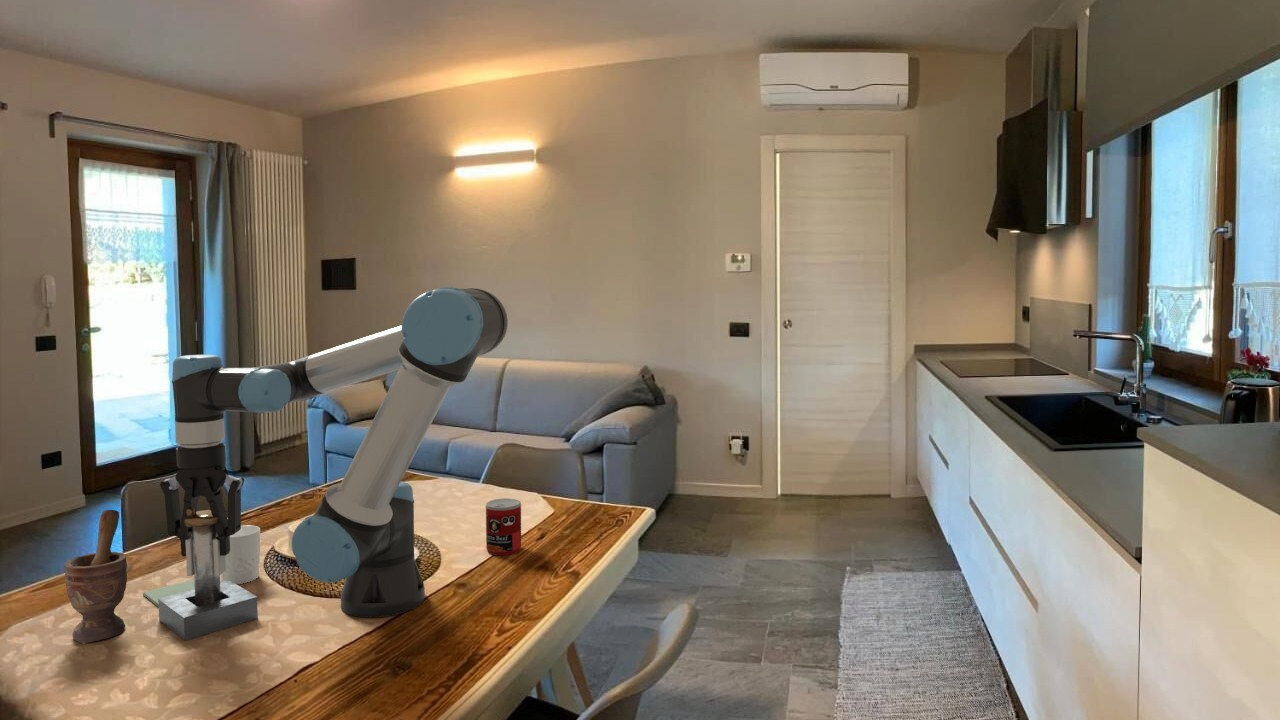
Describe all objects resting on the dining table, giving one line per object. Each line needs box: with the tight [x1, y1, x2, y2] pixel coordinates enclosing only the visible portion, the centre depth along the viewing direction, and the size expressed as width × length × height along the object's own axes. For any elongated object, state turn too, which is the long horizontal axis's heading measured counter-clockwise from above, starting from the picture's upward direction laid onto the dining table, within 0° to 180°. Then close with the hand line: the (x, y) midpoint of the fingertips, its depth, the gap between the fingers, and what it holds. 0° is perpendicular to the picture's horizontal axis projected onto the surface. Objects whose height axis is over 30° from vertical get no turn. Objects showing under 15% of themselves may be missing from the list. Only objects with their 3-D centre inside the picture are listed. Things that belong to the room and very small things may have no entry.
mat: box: [142, 578, 195, 608], centre depth 151 cm, size 10×10×1 cm
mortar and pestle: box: [64, 509, 128, 645], centre depth 134 cm, size 12×9×20 cm
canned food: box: [485, 498, 522, 556], centre depth 177 cm, size 8×8×11 cm
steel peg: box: [183, 508, 221, 607], centre depth 139 cm, size 6×6×18 cm
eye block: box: [158, 580, 259, 642], centre depth 139 cm, size 12×12×4 cm
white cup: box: [220, 524, 261, 585], centre depth 159 cm, size 8×8×10 cm
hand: (206, 572), depth 139 cm, fingers closed on steel peg, 4 cm apart
